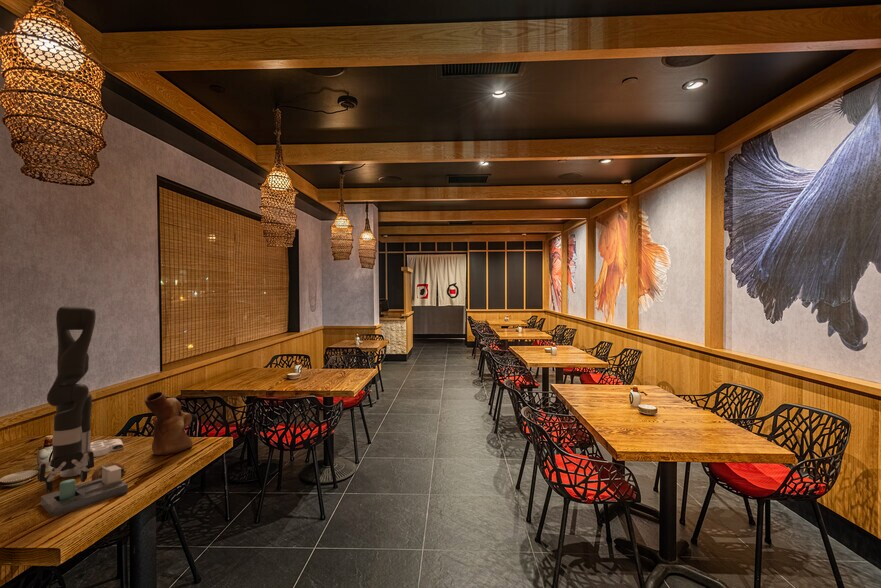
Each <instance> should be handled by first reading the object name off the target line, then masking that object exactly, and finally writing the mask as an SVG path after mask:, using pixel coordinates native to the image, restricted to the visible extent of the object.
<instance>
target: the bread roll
mask: <svg viewBox="0 0 881 588" xmlns="http://www.w3.org/2000/svg"><path fill="white" fill-rule="evenodd" d="M114 465H116V466H118V467H120V468H121V477H123V476H124V474H125V473H126V472H127V471H126V470H125V469H127V468H126V467H125V465H123V464H121V463H118V462H112V461H107V462H105V463H103V464H101V465H99V467H97V468H96V469H94V471H93V473H92V474H91V481H93V480H96V479H100V478H102V467H106V468H107V467H110V466H114Z"/></svg>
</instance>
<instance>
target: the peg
mask: <svg viewBox="0 0 881 588" xmlns="http://www.w3.org/2000/svg"><path fill="white" fill-rule="evenodd" d="M75 486H76V479H75V478H72V479H67V480H63V481H61V482H60V483H59V491H60V493H59V501H62V500H65V499H68V498H71V497H74V496H75Z"/></svg>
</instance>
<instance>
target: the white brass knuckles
mask: <svg viewBox="0 0 881 588" xmlns="http://www.w3.org/2000/svg"><path fill="white" fill-rule="evenodd" d="M124 448H125V445H124V443H123V441H122V439H120V438H112V439H107V440H106V439H97V440H95V441H92V442H91V441H90V451H92V452H93V454H94V458H95V457H96V458H97V457H102V456H104V455H107V454H109V453H112V452H115V451H120V450H122V449H124Z"/></svg>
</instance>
